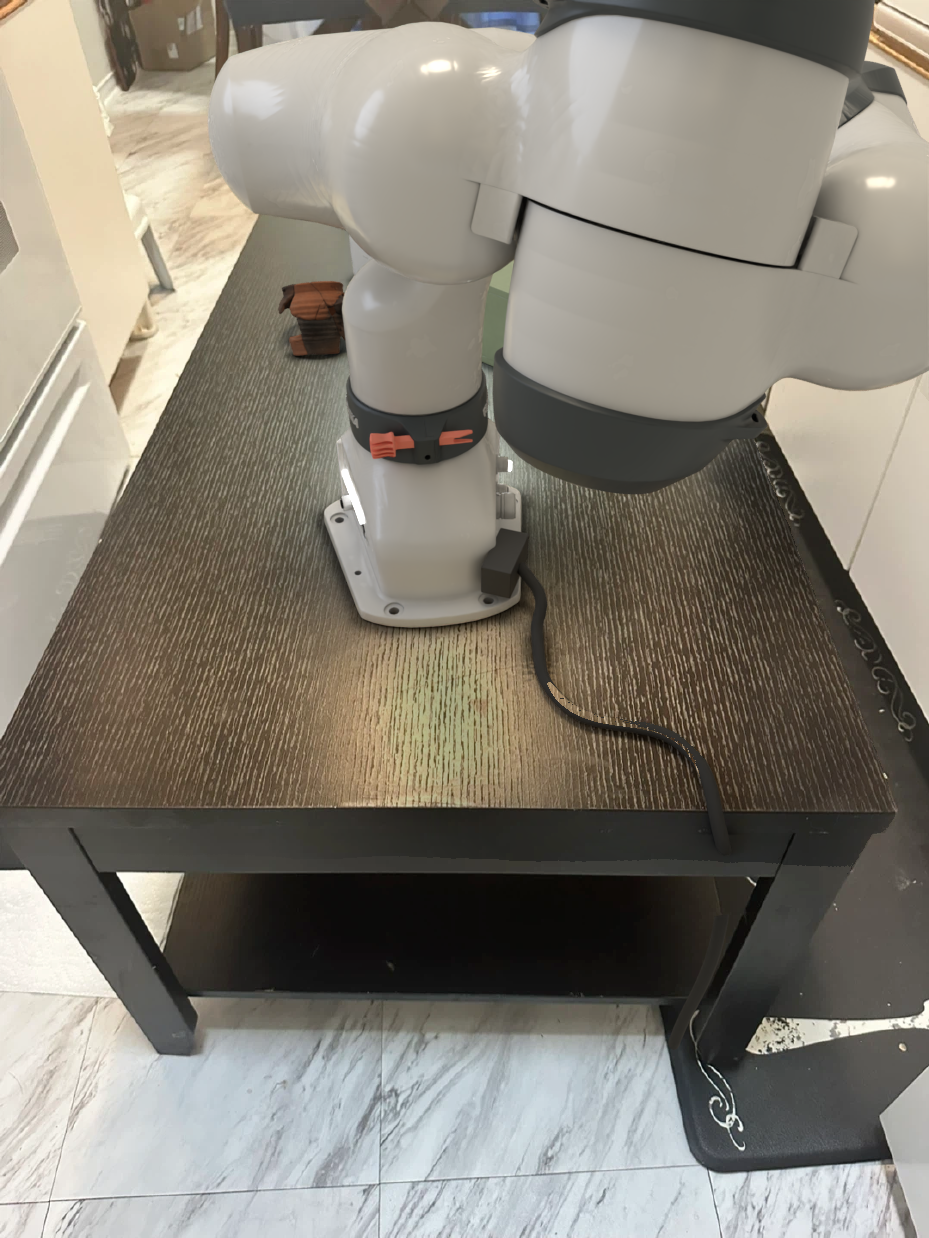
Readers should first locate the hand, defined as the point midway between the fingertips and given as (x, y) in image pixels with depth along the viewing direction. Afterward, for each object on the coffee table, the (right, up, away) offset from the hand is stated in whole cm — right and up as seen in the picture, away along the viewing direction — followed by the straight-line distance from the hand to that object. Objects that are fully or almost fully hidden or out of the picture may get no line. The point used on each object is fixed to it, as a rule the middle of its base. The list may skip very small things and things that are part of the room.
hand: (723, 336), depth 89 cm
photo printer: (-37, +16, +29) cm, 50 cm away
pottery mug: (-43, +6, +20) cm, 47 cm away
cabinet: (-21, +7, +20) cm, 30 cm away
